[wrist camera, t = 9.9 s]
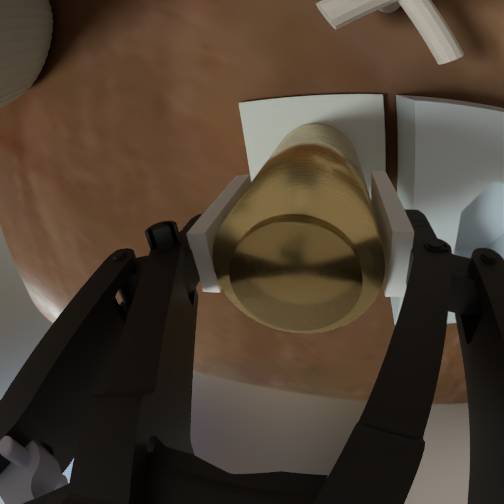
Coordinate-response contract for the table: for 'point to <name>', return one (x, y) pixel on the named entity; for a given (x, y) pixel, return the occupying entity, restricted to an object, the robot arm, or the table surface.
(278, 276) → the gold metal cylinder
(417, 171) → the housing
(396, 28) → the table surface
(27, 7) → the canister
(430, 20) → the pipe connector
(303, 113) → the mat
